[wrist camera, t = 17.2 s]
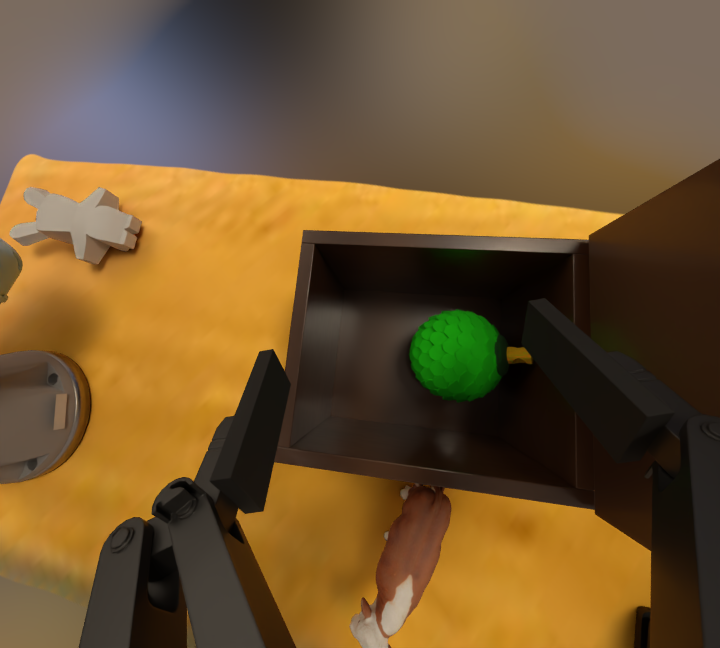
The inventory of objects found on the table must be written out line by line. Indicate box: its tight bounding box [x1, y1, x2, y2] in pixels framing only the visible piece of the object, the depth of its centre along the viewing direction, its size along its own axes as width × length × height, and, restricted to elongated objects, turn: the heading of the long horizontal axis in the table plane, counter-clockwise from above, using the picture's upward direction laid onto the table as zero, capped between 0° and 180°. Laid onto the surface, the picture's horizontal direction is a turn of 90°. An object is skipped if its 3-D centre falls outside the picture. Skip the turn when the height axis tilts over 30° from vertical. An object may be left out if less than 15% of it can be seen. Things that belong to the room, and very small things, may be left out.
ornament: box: [409, 309, 534, 402], centre depth 24 cm, size 8×8×10 cm
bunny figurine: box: [10, 187, 142, 264], centre depth 36 cm, size 10×5×15 cm
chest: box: [274, 230, 595, 510], centre depth 24 cm, size 19×16×13 cm
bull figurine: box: [350, 483, 451, 648], centre depth 24 cm, size 4×13×8 cm, turn 150°
